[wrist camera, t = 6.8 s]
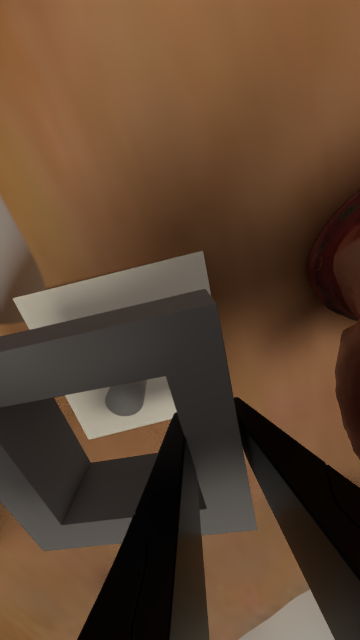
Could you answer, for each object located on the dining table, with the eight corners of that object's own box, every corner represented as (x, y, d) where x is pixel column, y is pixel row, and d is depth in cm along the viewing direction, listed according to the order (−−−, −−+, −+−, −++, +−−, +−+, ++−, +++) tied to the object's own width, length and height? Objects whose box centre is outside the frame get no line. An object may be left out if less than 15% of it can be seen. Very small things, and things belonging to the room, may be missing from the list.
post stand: (93, 429, 17) (59, 505, 11) (24, 295, 13) (-77, 317, 7) (227, 395, 17) (256, 455, 11) (200, 251, 13) (224, 241, 7)
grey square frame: (74, 487, 11) (43, 551, 8) (-20, 341, 8) (-110, 376, 5) (239, 464, 10) (257, 529, 7) (205, 288, 7) (216, 303, 4)
